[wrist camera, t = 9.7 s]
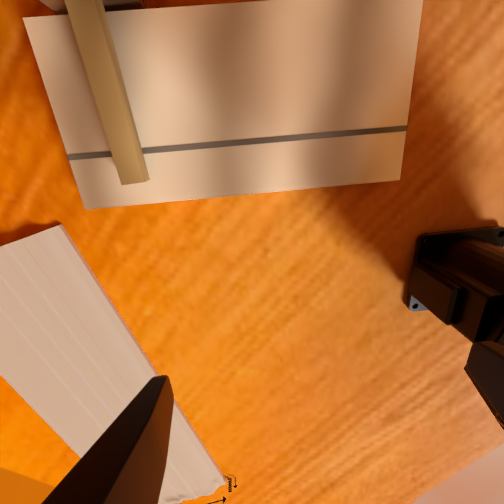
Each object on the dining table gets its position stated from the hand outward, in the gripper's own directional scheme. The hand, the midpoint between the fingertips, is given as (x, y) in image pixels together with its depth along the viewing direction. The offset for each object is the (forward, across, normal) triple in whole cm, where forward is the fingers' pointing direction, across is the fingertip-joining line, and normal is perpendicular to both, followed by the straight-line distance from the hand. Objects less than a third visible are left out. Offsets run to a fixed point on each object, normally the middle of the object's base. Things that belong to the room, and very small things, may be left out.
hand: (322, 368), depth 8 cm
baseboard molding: (+13, +14, +14) cm, 24 cm away
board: (+12, +2, -8) cm, 14 cm away
